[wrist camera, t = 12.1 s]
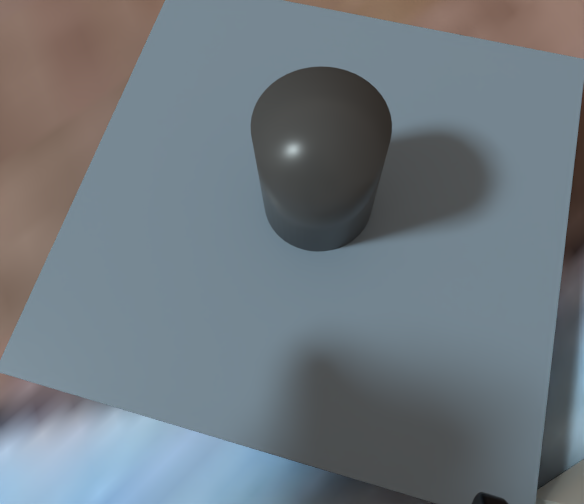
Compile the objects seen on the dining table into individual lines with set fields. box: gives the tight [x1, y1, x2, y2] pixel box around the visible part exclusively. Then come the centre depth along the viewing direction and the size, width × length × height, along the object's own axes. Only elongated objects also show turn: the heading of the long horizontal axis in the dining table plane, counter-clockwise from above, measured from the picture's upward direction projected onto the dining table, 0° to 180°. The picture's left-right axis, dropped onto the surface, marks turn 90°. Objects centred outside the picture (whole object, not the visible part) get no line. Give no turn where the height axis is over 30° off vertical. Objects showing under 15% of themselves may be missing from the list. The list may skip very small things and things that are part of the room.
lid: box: [0, 0, 584, 504], centre depth 17 cm, size 16×16×6 cm
